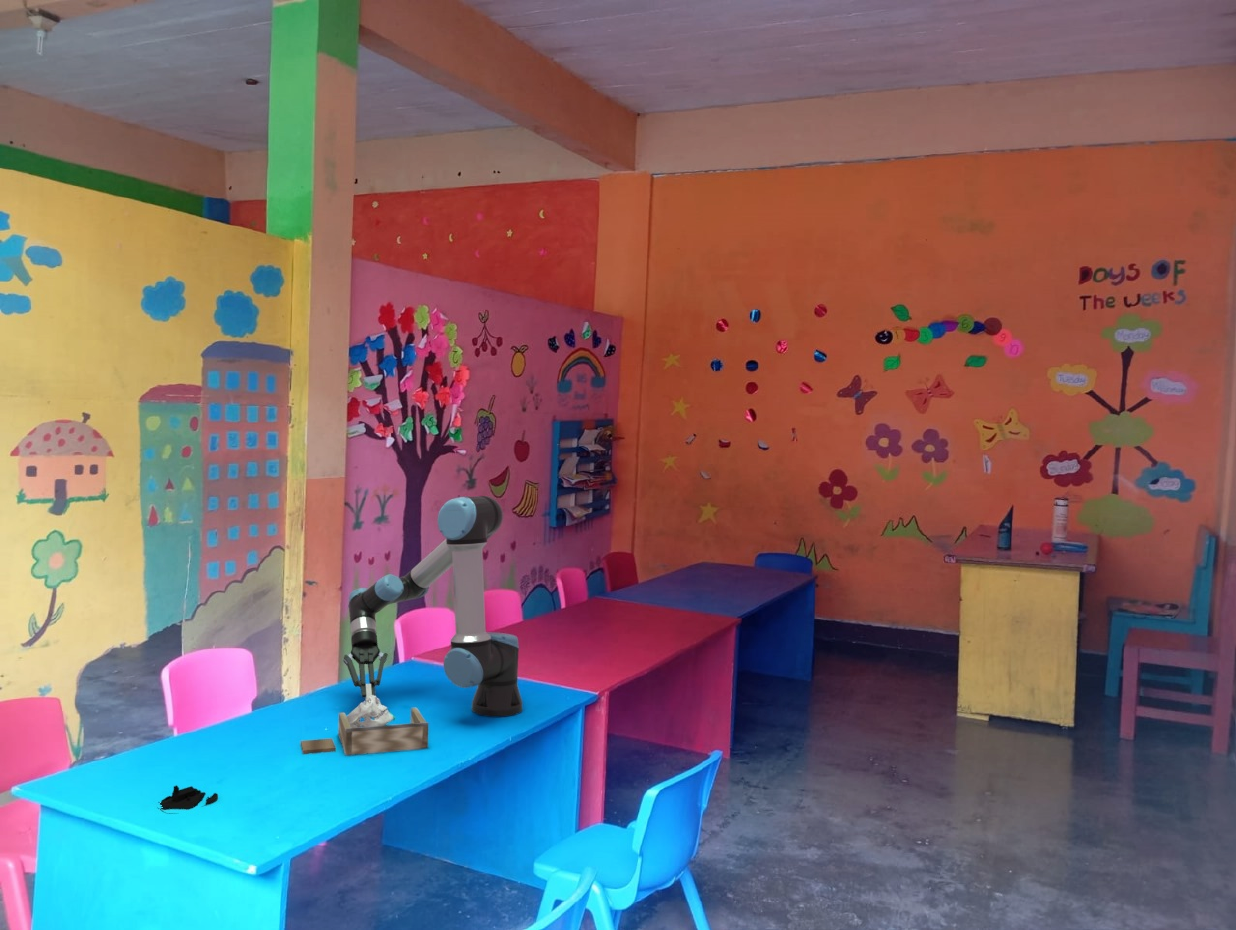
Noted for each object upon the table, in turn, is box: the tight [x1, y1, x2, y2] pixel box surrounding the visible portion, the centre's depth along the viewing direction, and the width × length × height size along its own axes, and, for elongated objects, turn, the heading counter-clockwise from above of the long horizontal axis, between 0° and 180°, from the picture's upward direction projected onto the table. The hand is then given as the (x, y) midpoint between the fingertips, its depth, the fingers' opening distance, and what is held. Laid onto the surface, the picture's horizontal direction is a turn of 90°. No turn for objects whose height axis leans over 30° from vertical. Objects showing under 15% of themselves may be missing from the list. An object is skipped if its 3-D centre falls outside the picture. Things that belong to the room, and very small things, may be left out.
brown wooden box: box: [337, 707, 429, 756], centre depth 265 cm, size 21×18×7 cm
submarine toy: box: [157, 784, 219, 815], centre depth 218 cm, size 12×10×5 cm
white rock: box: [346, 695, 396, 728], centre depth 276 cm, size 12×9×10 cm
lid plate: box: [300, 738, 337, 755], centre depth 258 cm, size 8×8×2 cm
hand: (369, 706), depth 283 cm, fingers closed
